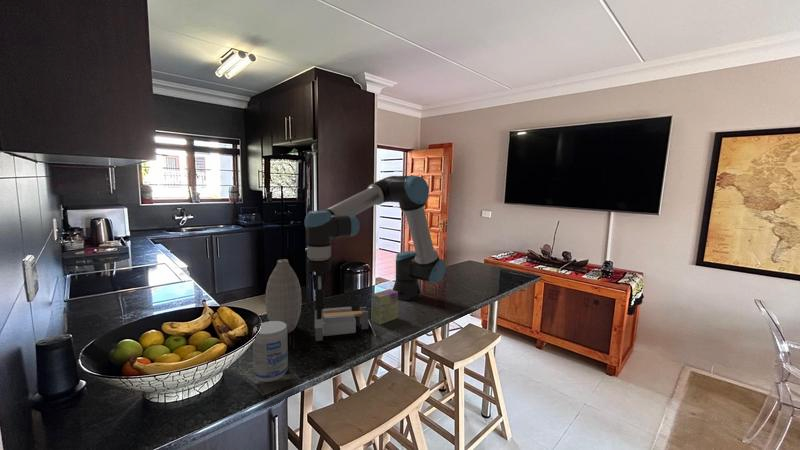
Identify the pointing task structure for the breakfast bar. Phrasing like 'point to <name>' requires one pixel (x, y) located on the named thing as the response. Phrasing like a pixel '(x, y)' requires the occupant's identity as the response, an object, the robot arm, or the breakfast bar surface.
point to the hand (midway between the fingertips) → (318, 326)
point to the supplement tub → (270, 351)
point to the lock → (319, 334)
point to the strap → (344, 313)
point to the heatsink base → (343, 321)
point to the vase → (283, 295)
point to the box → (384, 306)
